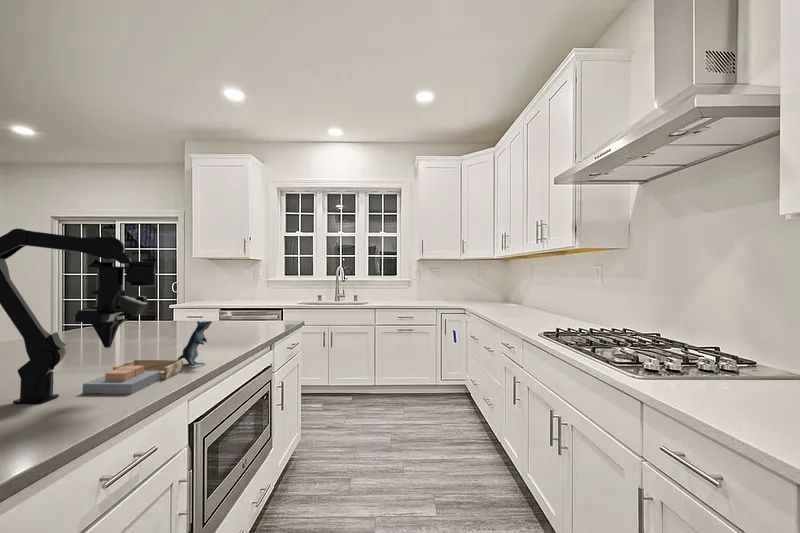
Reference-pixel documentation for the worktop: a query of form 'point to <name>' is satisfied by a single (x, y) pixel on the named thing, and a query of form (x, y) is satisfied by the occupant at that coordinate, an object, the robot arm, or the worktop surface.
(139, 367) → the tile far
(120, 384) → the slate board
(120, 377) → the tile near
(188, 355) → the sculpture
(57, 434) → the worktop surface
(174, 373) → the tray
